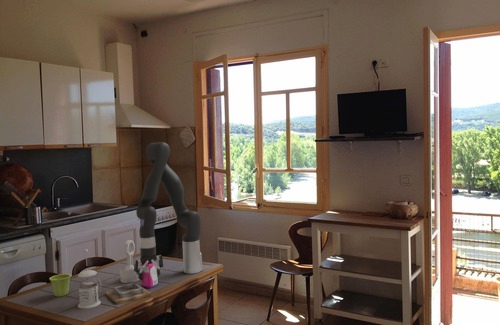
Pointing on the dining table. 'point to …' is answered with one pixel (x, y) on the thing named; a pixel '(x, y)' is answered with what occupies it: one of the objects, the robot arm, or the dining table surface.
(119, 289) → the wooden board with frame
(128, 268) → the engine component
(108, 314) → the dining table surface
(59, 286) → the plant pot
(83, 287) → the french press
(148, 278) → the supplement box
